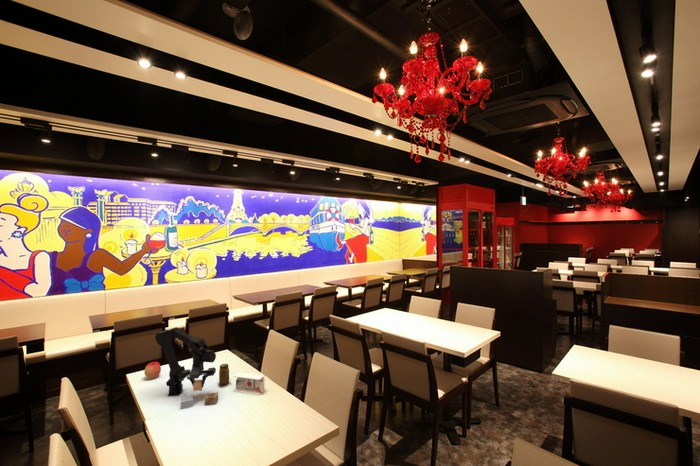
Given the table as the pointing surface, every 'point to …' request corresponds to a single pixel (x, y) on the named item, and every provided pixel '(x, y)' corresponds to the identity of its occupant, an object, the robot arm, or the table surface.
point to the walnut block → (211, 398)
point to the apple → (152, 370)
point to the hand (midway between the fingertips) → (198, 387)
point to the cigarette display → (249, 383)
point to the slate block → (187, 402)
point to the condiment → (224, 376)
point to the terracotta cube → (197, 385)
